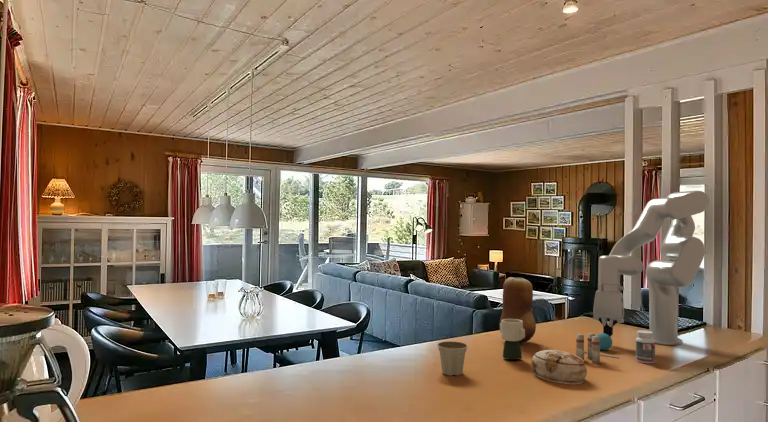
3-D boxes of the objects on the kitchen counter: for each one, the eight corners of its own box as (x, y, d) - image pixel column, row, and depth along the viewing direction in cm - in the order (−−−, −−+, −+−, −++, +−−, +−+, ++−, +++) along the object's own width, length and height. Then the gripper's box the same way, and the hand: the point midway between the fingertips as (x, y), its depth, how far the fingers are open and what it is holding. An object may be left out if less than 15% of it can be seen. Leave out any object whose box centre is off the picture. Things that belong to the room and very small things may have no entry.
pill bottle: (657, 364, 160) (657, 333, 160) (638, 363, 161) (638, 333, 161) (651, 359, 165) (651, 330, 165) (633, 358, 166) (633, 329, 167)
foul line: (577, 351, 176) (577, 350, 176) (619, 357, 168) (619, 357, 168) (576, 351, 175) (576, 351, 175) (618, 358, 167) (618, 357, 167)
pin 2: (593, 361, 163) (592, 335, 163) (600, 362, 161) (600, 336, 162) (590, 363, 161) (590, 337, 161) (598, 364, 160) (598, 338, 160)
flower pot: (470, 370, 153) (470, 342, 153) (465, 379, 144) (465, 349, 145) (440, 367, 156) (440, 340, 156) (434, 375, 147) (434, 347, 148)
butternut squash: (543, 343, 187) (543, 278, 187) (520, 348, 179) (519, 280, 180) (514, 336, 198) (514, 275, 199) (491, 341, 191) (491, 277, 191)
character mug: (532, 361, 163) (531, 322, 163) (517, 364, 159) (517, 324, 160) (507, 353, 172) (507, 316, 173) (493, 356, 168) (492, 319, 169)
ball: (596, 346, 182) (596, 330, 182) (614, 349, 178) (614, 333, 178) (592, 350, 177) (592, 333, 177) (610, 353, 174) (609, 336, 174)
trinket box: (529, 370, 154) (529, 345, 154) (579, 372, 152) (578, 346, 152) (536, 384, 140) (536, 356, 141) (591, 386, 138) (591, 358, 139)
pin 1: (577, 358, 166) (577, 333, 166) (585, 360, 165) (585, 334, 165) (575, 360, 164) (575, 334, 164) (583, 361, 163) (582, 335, 163)
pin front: (588, 357, 168) (588, 332, 168) (596, 358, 166) (596, 333, 166) (586, 359, 166) (586, 333, 166) (594, 360, 164) (594, 334, 164)
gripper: (632, 289, 184) (631, 338, 183) (591, 285, 193) (590, 332, 193) (628, 291, 178) (627, 341, 177) (585, 286, 187) (584, 335, 187)
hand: (607, 336), depth 185 cm, fingers closed
